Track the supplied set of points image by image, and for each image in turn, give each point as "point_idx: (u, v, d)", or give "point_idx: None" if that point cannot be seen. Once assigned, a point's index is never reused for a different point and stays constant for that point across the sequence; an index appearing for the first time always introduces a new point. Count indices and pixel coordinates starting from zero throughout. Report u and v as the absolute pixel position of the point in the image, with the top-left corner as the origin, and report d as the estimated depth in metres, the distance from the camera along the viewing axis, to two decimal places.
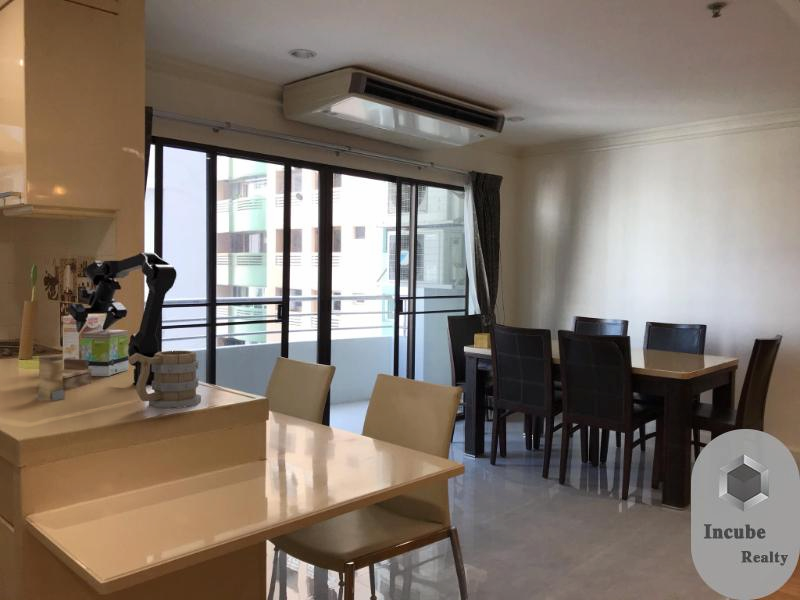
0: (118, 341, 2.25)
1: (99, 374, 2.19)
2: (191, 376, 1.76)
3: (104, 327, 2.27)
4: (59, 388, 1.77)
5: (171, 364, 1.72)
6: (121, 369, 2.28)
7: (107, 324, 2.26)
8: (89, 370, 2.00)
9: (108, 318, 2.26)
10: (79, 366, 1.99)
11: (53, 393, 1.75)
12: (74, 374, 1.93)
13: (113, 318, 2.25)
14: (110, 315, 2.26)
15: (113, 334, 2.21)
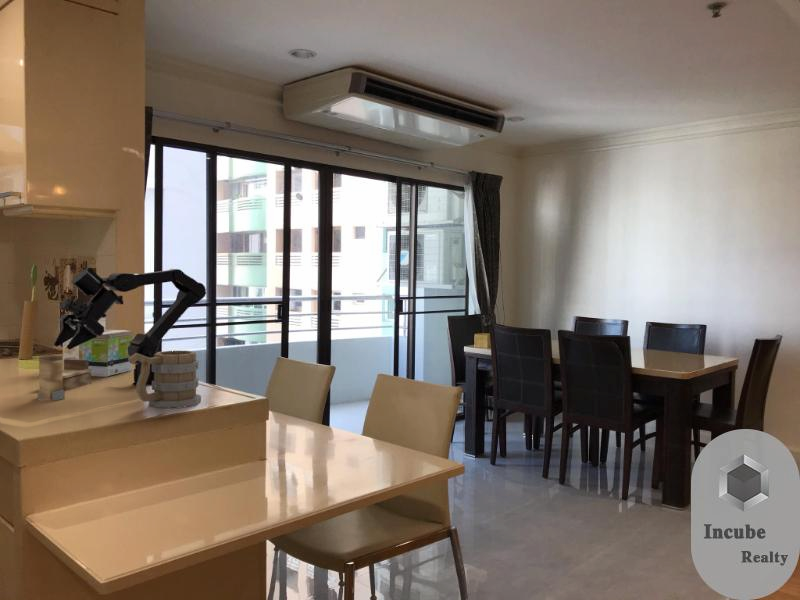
0: (118, 341, 2.23)
1: (98, 374, 2.19)
2: (191, 376, 1.76)
3: (59, 343, 1.91)
4: (59, 388, 1.77)
5: (171, 364, 1.72)
6: (123, 370, 2.27)
7: (64, 339, 1.92)
8: (89, 370, 2.00)
9: (66, 332, 1.93)
10: (79, 366, 1.99)
11: (53, 393, 1.75)
12: (74, 374, 1.93)
13: (75, 333, 1.95)
14: (70, 329, 1.94)
15: (113, 334, 2.20)
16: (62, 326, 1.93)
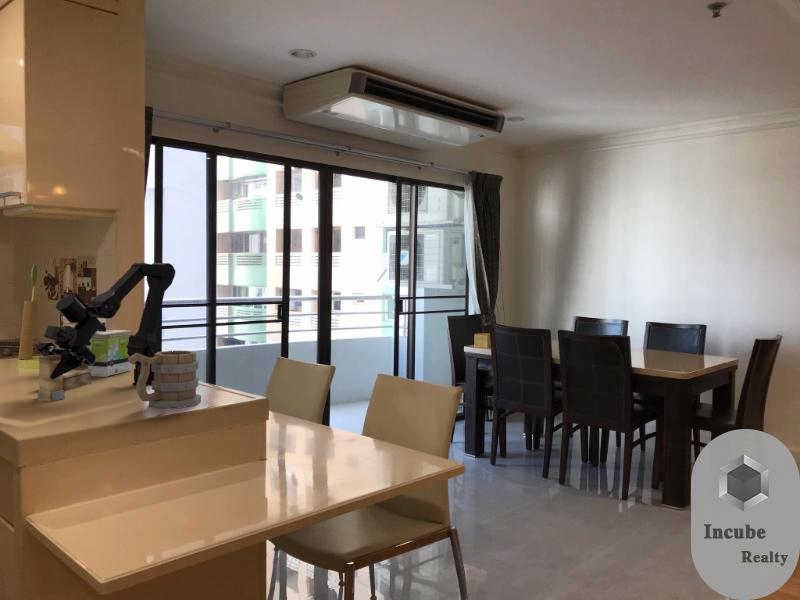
0: (118, 341, 2.23)
1: (98, 374, 2.19)
2: (191, 376, 1.76)
3: None
4: (59, 388, 1.77)
5: (171, 364, 1.72)
6: (123, 370, 2.27)
7: None
8: (89, 370, 2.00)
9: None
10: None
11: (53, 393, 1.75)
12: (74, 374, 1.93)
13: None
14: None
15: (113, 334, 2.20)
16: None
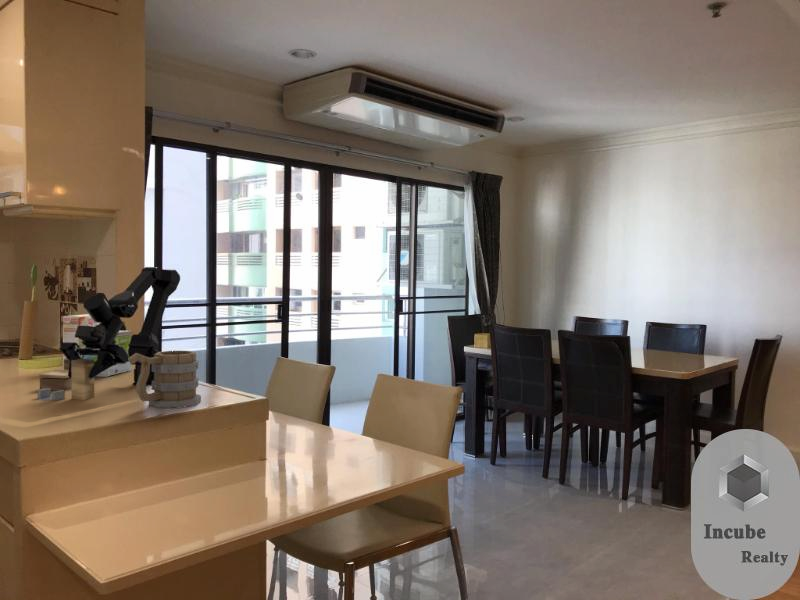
0: (118, 341, 2.23)
1: (98, 374, 2.19)
2: (191, 376, 1.76)
3: None
4: (91, 391, 1.79)
5: (171, 364, 1.72)
6: (123, 370, 2.27)
7: None
8: None
9: None
10: None
11: (53, 393, 1.75)
12: None
13: None
14: (79, 358, 1.82)
15: None
16: (72, 355, 1.80)
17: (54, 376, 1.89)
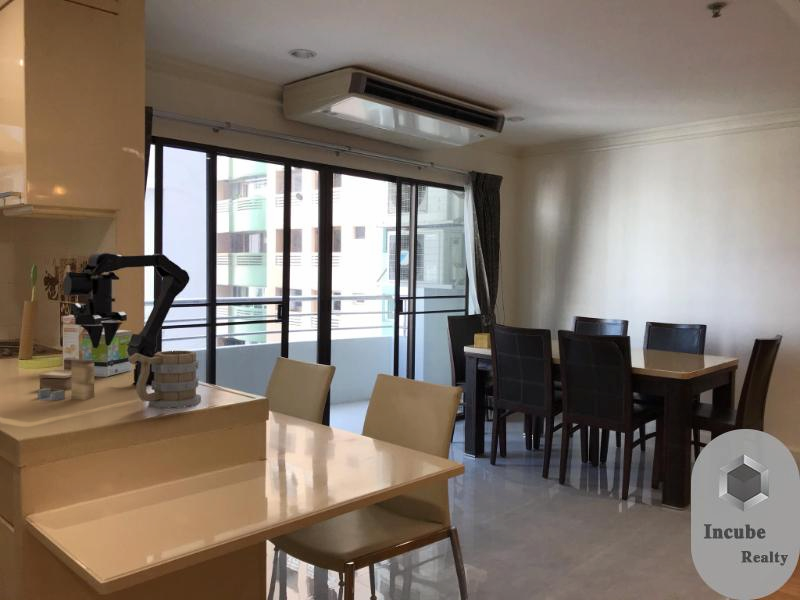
0: (118, 341, 2.23)
1: (98, 374, 2.19)
2: (191, 376, 1.76)
3: (108, 341, 1.98)
4: (91, 391, 1.79)
5: (171, 364, 1.72)
6: (123, 370, 2.27)
7: (110, 335, 1.98)
8: None
9: (108, 329, 1.99)
10: None
11: (53, 393, 1.75)
12: None
13: (115, 324, 1.99)
14: (109, 325, 1.99)
15: None
16: None
17: (54, 376, 1.89)
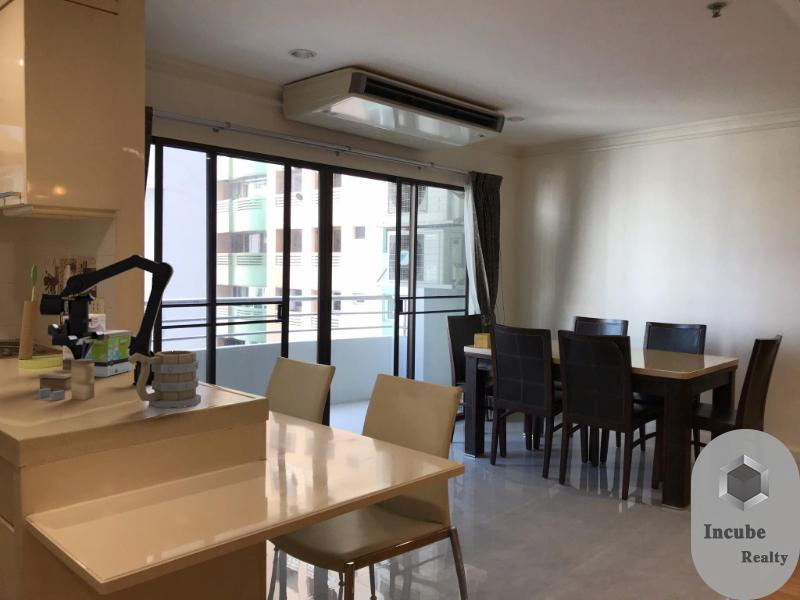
0: (118, 341, 2.23)
1: (98, 374, 2.19)
2: (191, 376, 1.76)
3: None
4: (91, 391, 1.79)
5: (171, 364, 1.72)
6: (123, 370, 2.27)
7: None
8: None
9: None
10: None
11: (53, 393, 1.75)
12: None
13: (86, 345, 2.02)
14: None
15: (113, 334, 2.20)
16: None
17: (53, 376, 1.88)
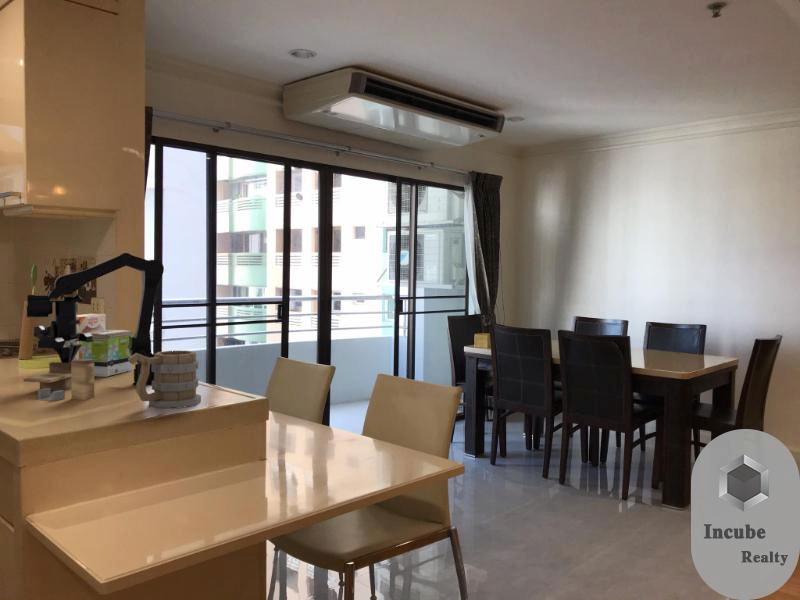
0: (118, 341, 2.23)
1: (98, 374, 2.19)
2: (191, 376, 1.76)
3: None
4: (91, 391, 1.79)
5: (171, 364, 1.72)
6: (123, 370, 2.27)
7: None
8: None
9: None
10: (64, 369, 1.92)
11: (53, 393, 1.75)
12: (59, 378, 1.86)
13: (74, 347, 1.95)
14: None
15: (113, 334, 2.20)
16: None
17: (38, 380, 1.82)
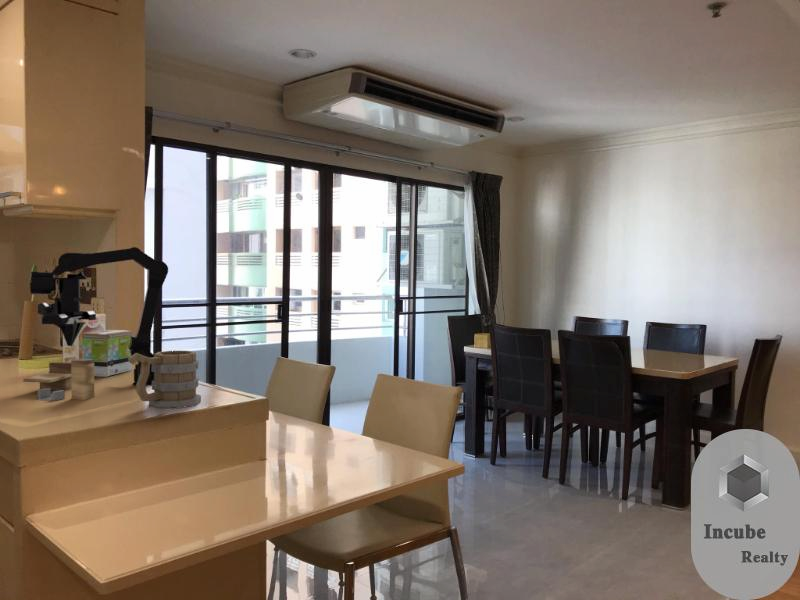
0: (118, 341, 2.23)
1: (98, 374, 2.19)
2: (191, 376, 1.76)
3: None
4: (91, 391, 1.79)
5: (171, 364, 1.72)
6: (123, 370, 2.27)
7: None
8: None
9: None
10: (64, 369, 1.92)
11: (53, 393, 1.75)
12: (59, 378, 1.86)
13: (77, 324, 1.97)
14: None
15: (113, 334, 2.20)
16: None
17: (38, 380, 1.82)
